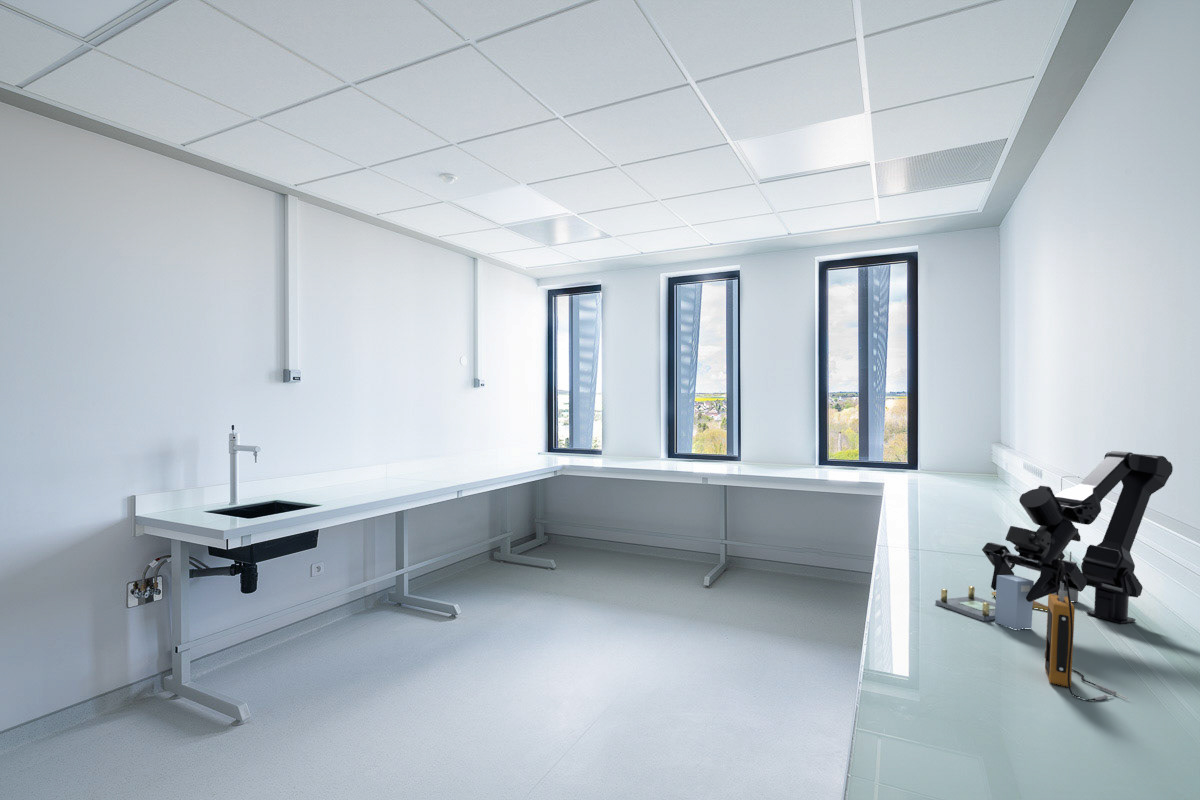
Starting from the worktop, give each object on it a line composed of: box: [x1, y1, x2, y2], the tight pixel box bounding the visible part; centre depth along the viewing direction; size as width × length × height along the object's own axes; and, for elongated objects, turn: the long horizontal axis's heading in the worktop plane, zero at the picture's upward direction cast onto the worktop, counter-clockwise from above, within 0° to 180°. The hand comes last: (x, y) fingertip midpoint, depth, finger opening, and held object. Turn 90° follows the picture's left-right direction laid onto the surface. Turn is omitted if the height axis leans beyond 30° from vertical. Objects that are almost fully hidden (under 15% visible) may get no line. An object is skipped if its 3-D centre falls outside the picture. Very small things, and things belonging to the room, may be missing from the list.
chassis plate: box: [935, 585, 996, 622], centre depth 132 cm, size 13×11×4 cm
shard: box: [990, 591, 1048, 611], centre depth 138 cm, size 11×8×2 cm
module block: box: [994, 574, 1035, 629], centre depth 123 cm, size 4×5×10 cm
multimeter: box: [1044, 556, 1129, 701], centre depth 95 cm, size 15×10×20 cm
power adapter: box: [1053, 551, 1079, 603], centre depth 145 cm, size 3×5×12 cm, turn 51°
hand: (1009, 594), depth 122 cm, fingers open, 7 cm apart
